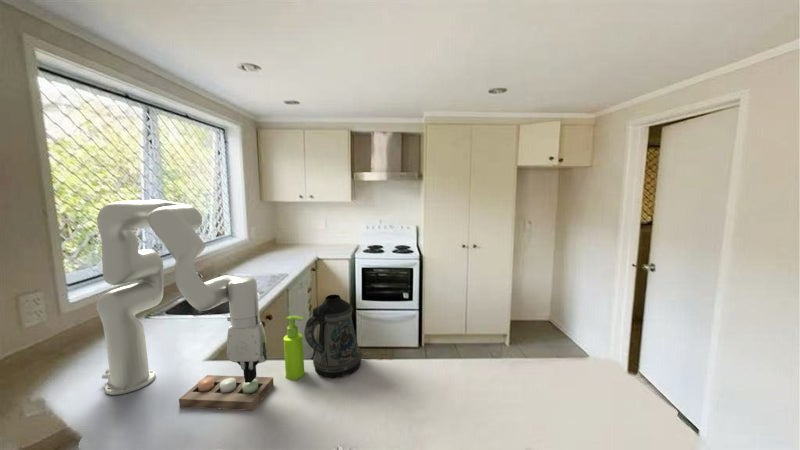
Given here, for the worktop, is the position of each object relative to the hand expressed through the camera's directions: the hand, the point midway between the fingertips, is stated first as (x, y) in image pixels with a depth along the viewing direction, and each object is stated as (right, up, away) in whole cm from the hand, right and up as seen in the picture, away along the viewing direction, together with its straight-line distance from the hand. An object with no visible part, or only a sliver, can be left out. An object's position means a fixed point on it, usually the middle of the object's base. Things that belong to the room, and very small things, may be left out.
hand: (250, 379), depth 97 cm
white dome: (-7, -3, +1) cm, 8 cm away
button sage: (0, -3, 0) cm, 3 cm away
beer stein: (+23, -3, +15) cm, 27 cm away
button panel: (-7, -5, +1) cm, 9 cm away
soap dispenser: (+10, -4, +12) cm, 16 cm away
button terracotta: (-14, -4, +2) cm, 15 cm away
